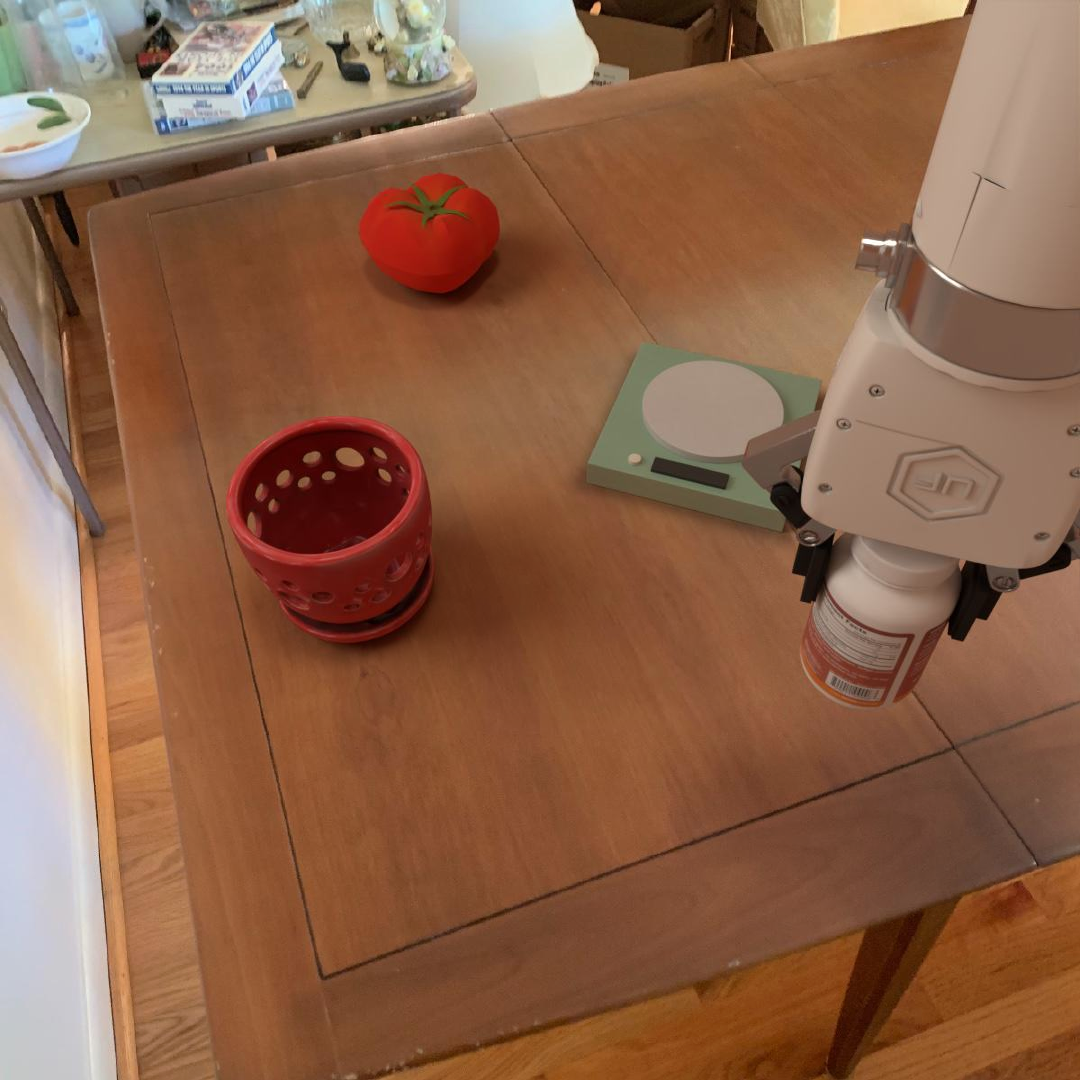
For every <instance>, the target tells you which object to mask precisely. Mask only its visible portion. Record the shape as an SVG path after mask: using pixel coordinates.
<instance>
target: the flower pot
mask: <svg viewBox="0 0 1080 1080" xmlns="http://www.w3.org/2000/svg"><path fill="white" fill-rule="evenodd" d="M374 448H376V449H378V450H380V451H382V452H383V453H384V454H385V457H386V458H384V457H381V456H379V455H378V454H377V453H376V451H375V450H374ZM341 449H351V450H353V451H356V452H357V453H358V454H359V455H360V456H361V457H362V459H363V464H361V465H357V466H353V465H348V464H344V463H342V462H341V461H340V460H339V458H338V457H337V452H338V451H339V450H341ZM314 452H317V453H319V457H318V458H317V459H316V460H313V461H311V462H309V461H308V462H307V461H304V458H305V457H306V455H308V454H311V453H314ZM419 454H420V453H418V451H417V450H416V448H415V447H414V446H413V444H412V443H411V442H410V440H408V439H407V438H406V437H405V436H404V435H403V434H402V433H400V432H399V431H398V430H396V429H394V428H393V427H391V426H389V425H388V424H385V423H383V422H381V421H378V420H375V419H371V418H368V417H367V418H366V417H361V416H355V415H354V416H353V415H329V416H321V417H316V418H311V419H308V420H304V421H301V422H297V423H295V424H292V425H290V426H288V427H285V428H283V429H282V430H279V431H278V432H275V433H274V434H273V435H271V436H269V437H268V438H266V439H265V440H263V441H262V442H260V443H259V444H258V445H257V446H255V447H254V448H253V449H252V450H251V451H250V452H248V453H247V455H246V456H244V458H243V459H242V460H241V462H240V463H239V464H238V466H237V468H236V469H235V471H234V473H233V474H232V476H231V478H230V481H229V484H228V487H227V491H226V498H225V511H226V517H227V520H228V523H229V526H230V529H231V531H232V533H233V535H234V538H235V540H236V543H237V544H238V546H239V549H240V550H241V552H242V554H243V556H244V557H245V559H246V562H247V563H248V565H249V566H250V567H251V569H252V571H253V572H254V574H256V576H257V577H258V578H259V580H260V581H261V582H262V584H263V585H264V586H265V588H266V589H267V590H268V591H269V592H270V593H271V594H272V595H273V596H274V597H275V598H276V599H277V600H278V603H279V605H280V608H281V610H282V611H283V613H284V614H285V616H286V618H287V619H288V621H290V622H291V623H292V624H293V625H294V626H295V627H296V628H298V629H299V630H301V631H302V632H303V633H305V634H307V635H309V636H312V637H314V638H316V639H319V640H323V641H327V642H331V643H340V644H353V643H361V642H366V641H369V640H370V641H371V640H374V639H378V638H381V637H383V636H385V635H387V634H390V633H391V632H393V631H395V630H398V628H400V627H401V626H403V625H404V624H405V623H407V622H408V621H409V620H411V618H413V616H415V614H416V613H418V611H419V610H420V609H421V607H422V606H423V604H424V603H425V601H426V600H427V598H428V596H429V594H430V592H431V589H432V585H433V583H434V579H435V571H436V570H435V567H436V566H435V558H434V553H433V550H432V547H431V543H432V533H433V509H432V501H431V492H430V486H429V480H428V478H427V473H426V470H425V466H424V463H423V461H422V458H421V457H420V455H419ZM379 469H380V470H383V471H385V472H386V473H388V475H389V476H390V481H388V480H386V479H384V478H383V477H382V476H381V473H380V470H379ZM284 471H288V478H287V480H285V481H284V482H283V483H281V484H280V485H279V484H278V482H277V480H278V478H279V476H280V475H281V473H283V472H284ZM328 472H331V473H334V476H333V478H331V479H325V478H323V475H324V474H326V473H328ZM303 478H309V480H308V483H307V484H306V485H304V486H299V482H300V480H302V479H303ZM260 485H262V488H261V492H260V494H259V496H256V495H257V494H256V493H257V490H258V488H259V486H260ZM272 500H273V502H274V503H273V506H272V508H271V509H270V503H271V501H272ZM251 513H252V515H253V518H254V526H255V527H254V533H253V532H252V531H251V529H250V528H249V525H248V522H249V516H250V514H251Z"/></svg>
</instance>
